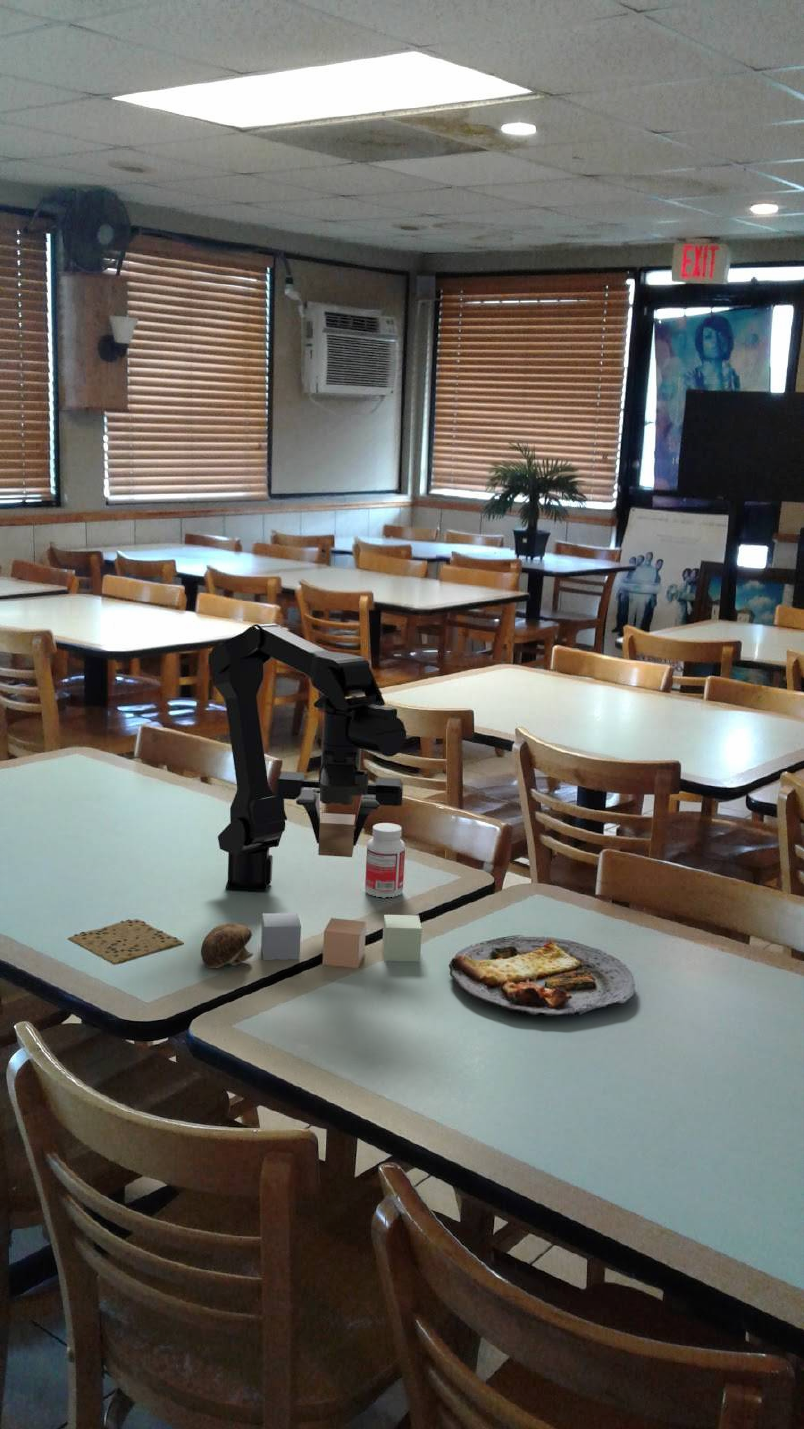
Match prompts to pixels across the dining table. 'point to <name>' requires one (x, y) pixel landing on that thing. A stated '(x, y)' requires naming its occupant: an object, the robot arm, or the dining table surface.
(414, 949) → the sage cube
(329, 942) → the terracotta cube
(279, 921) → the slate cube
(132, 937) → the cookie
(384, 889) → the pill bottle
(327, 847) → the walnut cube
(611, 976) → the food plate
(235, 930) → the mushroom
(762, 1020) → the dining table surface
